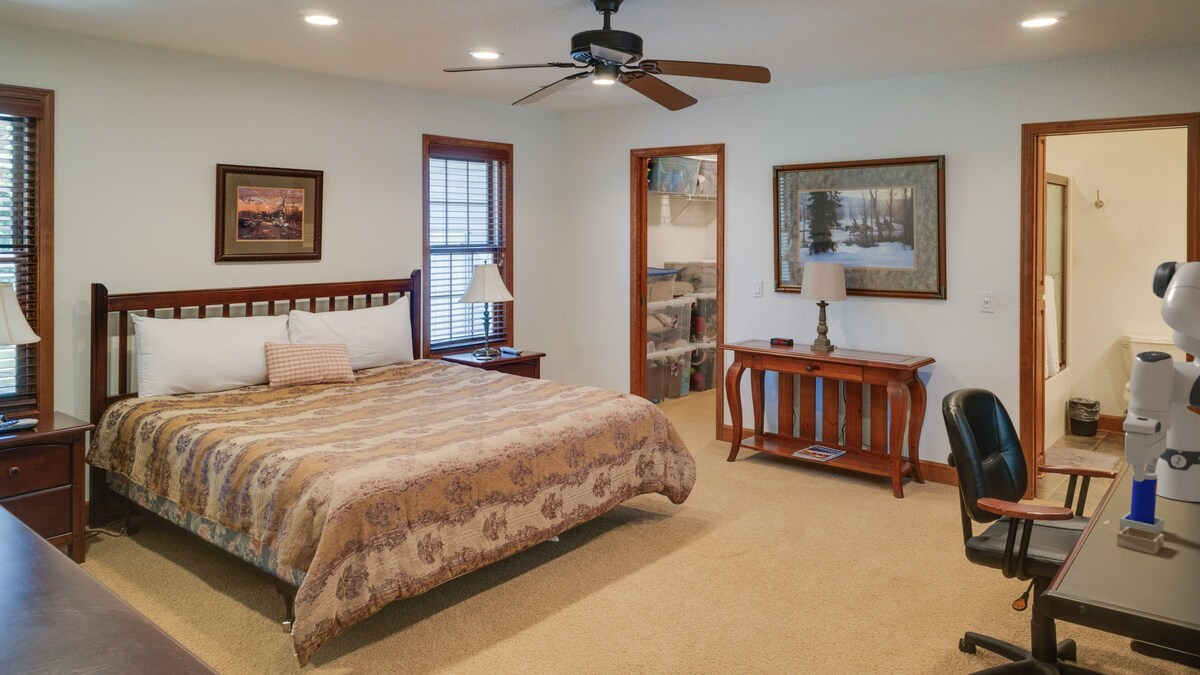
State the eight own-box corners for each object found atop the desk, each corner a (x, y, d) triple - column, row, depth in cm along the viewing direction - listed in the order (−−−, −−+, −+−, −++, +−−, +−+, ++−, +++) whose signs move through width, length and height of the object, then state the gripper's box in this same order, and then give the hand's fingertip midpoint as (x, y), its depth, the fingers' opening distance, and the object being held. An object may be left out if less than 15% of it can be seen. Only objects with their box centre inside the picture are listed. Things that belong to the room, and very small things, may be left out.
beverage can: (1157, 534, 212) (1161, 476, 210) (1134, 533, 213) (1138, 475, 211) (1148, 527, 217) (1152, 470, 215) (1126, 526, 218) (1130, 469, 216)
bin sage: (1128, 523, 220) (1129, 512, 220) (1163, 530, 214) (1164, 519, 214) (1119, 530, 215) (1120, 518, 214) (1154, 537, 209) (1155, 526, 209)
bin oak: (1126, 537, 209) (1127, 526, 209) (1163, 546, 203) (1164, 534, 203) (1116, 545, 204) (1117, 533, 203) (1154, 554, 198) (1154, 541, 198)
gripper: (1146, 412, 210) (1142, 466, 211) (1120, 424, 196) (1116, 482, 197) (1176, 416, 205) (1172, 471, 207) (1152, 428, 191) (1148, 487, 193)
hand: (1144, 476), depth 202 cm, fingers open, 8 cm apart
